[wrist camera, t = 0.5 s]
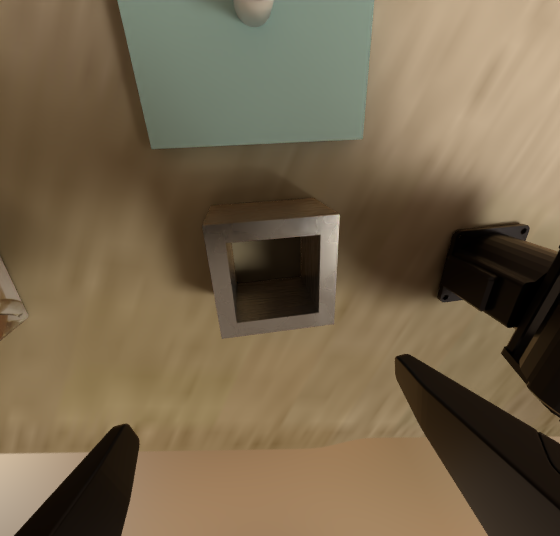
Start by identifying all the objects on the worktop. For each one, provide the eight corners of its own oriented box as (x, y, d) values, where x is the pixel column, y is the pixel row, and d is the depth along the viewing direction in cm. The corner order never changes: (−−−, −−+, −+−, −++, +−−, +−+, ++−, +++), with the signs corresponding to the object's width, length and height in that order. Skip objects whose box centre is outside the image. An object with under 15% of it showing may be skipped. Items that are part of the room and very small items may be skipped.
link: (314, 197, 18) (339, 214, 14) (313, 286, 21) (333, 324, 17) (211, 205, 17) (202, 225, 13) (225, 296, 20) (221, 338, 16)
